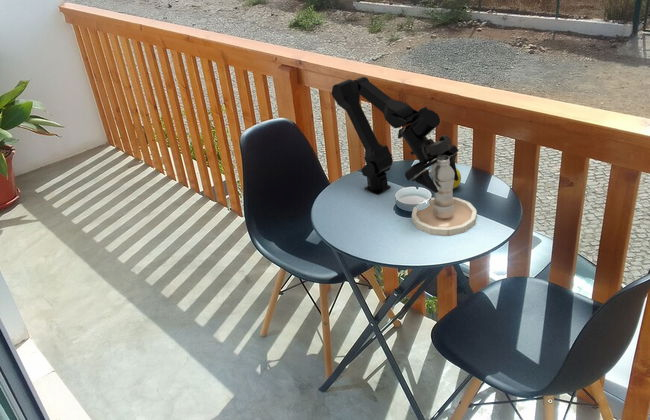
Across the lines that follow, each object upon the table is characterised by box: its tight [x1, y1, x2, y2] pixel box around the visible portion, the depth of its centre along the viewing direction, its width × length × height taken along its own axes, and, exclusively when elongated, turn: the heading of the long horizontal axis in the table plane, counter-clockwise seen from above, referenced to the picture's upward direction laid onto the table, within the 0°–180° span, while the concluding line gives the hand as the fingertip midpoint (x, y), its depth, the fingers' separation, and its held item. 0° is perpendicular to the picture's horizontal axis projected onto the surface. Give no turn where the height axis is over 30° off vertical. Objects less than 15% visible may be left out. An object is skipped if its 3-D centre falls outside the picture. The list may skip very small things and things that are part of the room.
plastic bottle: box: [431, 155, 455, 219], centre depth 177 cm, size 6×7×20 cm
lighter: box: [425, 163, 437, 179], centre depth 201 cm, size 7×2×8 cm, turn 83°
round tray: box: [411, 196, 478, 237], centre depth 182 cm, size 19×19×2 cm
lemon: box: [453, 168, 462, 190], centre depth 195 cm, size 6×6×8 cm
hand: (447, 186), depth 176 cm, fingers open, 9 cm apart
